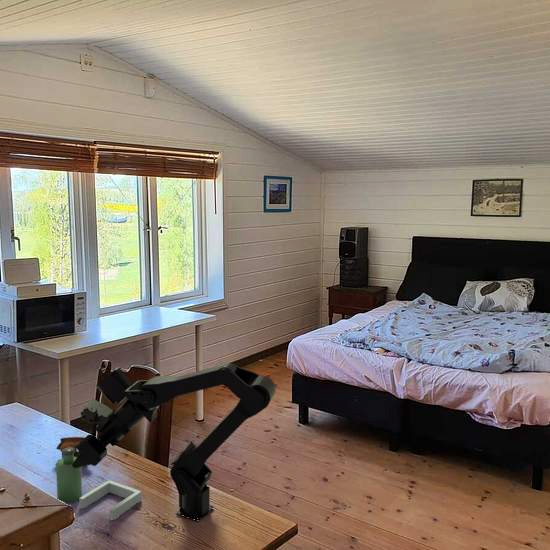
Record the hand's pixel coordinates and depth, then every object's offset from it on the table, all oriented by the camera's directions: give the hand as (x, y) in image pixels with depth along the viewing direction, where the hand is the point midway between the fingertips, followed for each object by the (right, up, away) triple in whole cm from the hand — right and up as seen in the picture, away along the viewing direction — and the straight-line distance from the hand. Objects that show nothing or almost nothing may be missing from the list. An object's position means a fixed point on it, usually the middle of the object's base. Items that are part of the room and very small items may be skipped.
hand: (82, 457), depth 133 cm
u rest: (+7, -11, -1) cm, 13 cm away
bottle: (-4, -10, +2) cm, 11 cm away
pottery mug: (-8, -8, +19) cm, 23 cm away
